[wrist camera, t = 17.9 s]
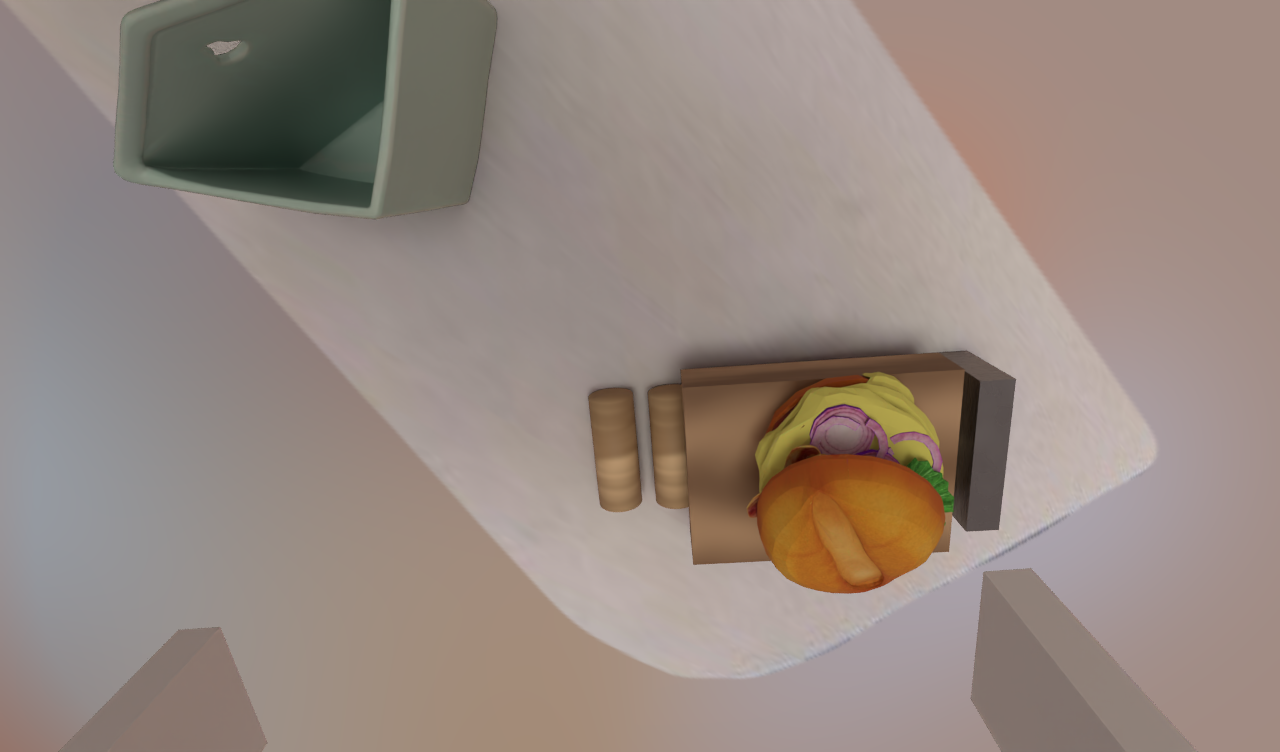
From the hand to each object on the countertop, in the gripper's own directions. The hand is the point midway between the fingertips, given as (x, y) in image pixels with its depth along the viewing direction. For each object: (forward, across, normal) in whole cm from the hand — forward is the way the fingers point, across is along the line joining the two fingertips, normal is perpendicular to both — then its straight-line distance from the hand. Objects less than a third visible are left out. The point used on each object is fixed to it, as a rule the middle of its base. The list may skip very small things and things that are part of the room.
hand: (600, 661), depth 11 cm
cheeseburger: (+25, +11, -10) cm, 29 cm away
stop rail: (+32, +20, -11) cm, 39 cm away
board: (+29, +10, -11) cm, 32 cm away
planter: (+33, -12, +10) cm, 36 cm away
